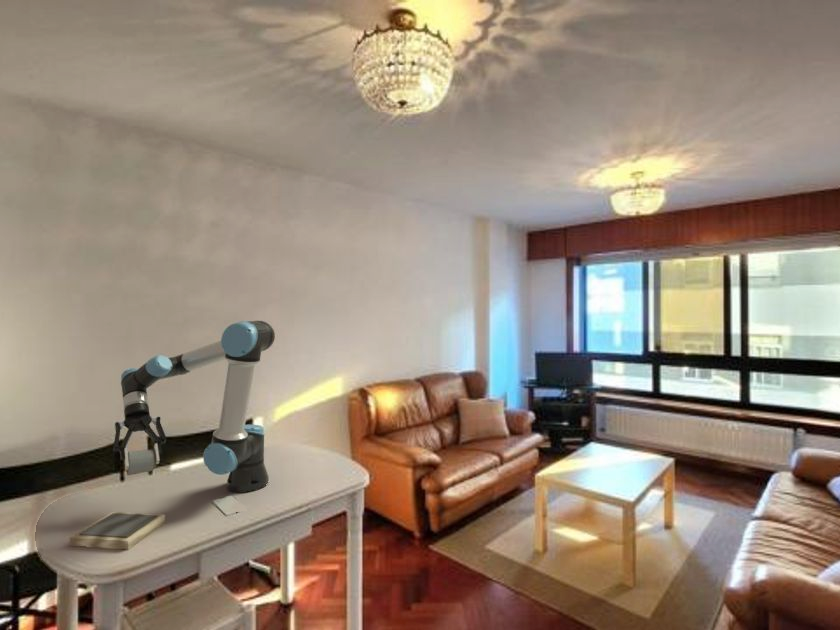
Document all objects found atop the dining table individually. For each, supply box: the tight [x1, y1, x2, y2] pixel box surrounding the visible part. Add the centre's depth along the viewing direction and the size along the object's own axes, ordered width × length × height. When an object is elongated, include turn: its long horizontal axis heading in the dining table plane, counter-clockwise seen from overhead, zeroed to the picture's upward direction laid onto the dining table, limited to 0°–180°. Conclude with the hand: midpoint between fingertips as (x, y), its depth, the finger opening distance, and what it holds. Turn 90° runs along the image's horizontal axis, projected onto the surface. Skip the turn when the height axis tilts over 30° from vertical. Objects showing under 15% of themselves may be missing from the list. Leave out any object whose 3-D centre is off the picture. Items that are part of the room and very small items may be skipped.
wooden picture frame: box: [69, 511, 166, 551], centre depth 137 cm, size 18×16×3 cm
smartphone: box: [211, 494, 238, 516], centre depth 157 cm, size 7×1×15 cm
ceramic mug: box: [125, 449, 157, 476], centre depth 154 cm, size 11×8×8 cm
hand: (142, 464), depth 150 cm, fingers closed on ceramic mug, 8 cm apart
